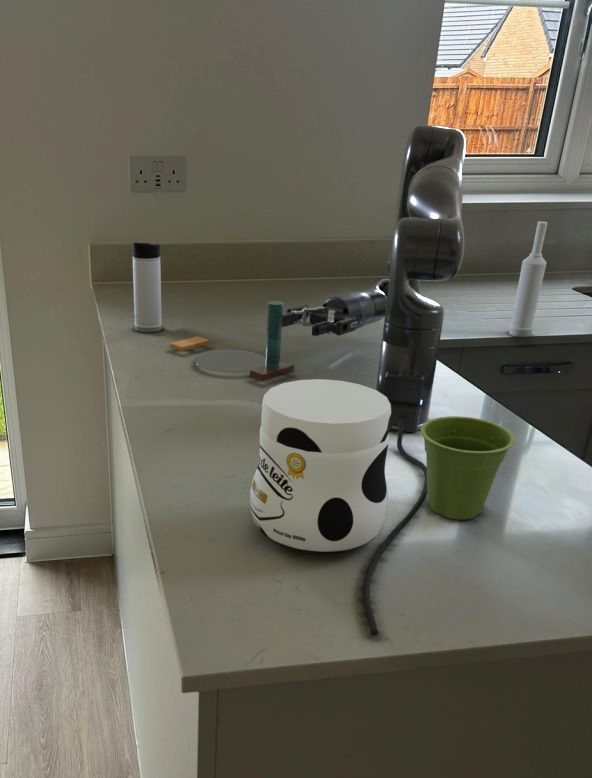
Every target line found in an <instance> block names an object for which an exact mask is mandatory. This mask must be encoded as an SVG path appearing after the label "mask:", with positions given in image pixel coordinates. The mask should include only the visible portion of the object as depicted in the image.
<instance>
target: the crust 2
mask: <svg viewBox="0 0 592 778" xmlns="http://www.w3.org/2000/svg"><path fill="white" fill-rule="evenodd" d="M184 340H186V341H189V342H192V343H195V344H196V348H200V347H203V346H207V345H210V344H211V340H210V339H208V338H204V337H202V336H198V335H197V336H193V337H189V338H186V339H185V338H184Z"/></svg>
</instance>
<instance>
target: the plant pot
mask: <svg viewBox="0 0 592 778" xmlns="http://www.w3.org/2000/svg"><path fill="white" fill-rule="evenodd" d="M420 434H421V435H422V437H423V440H424V441H423V442H424V443H423V444H424V451H425V456H426V458H425V459H426V460H425V461H426V462H425V463H426V467H427V496H426V499H427V500H426V501H427V507H428V509H429V510H430V511H432V512H433V513H434V514H440V515H441V516H443V517H444V518H446V519H450V520H460V521H461V520H463V521H464V520H471V519H474V518H476V517H477V516H478V515H481V513H482V511H483V510H484V506H485V504H486V501H487V499H488V497H489V494H490V492H491V489H492V486H493V483H494V481H495V479H496V476H497V474H498V472H499V469H500V466H501V463H502V462H504V460H505V457H506V455H507V453H508V450H510V449H511V448H512V447H513V446H514V445H515V442H516V437H515V435H514V434H513V433H512V431H510V429H508V428H506V427H504V426H502V425H500V424H498V423H495V422H493V421H489V420H485V419H482V418H478V417H471V416H459V415H458V416H456V415H450V416H439V417H434V418H432V419H428V421H427V422H425V423H424V424H423V425H422V426H421V429H420Z"/></svg>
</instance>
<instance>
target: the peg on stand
mask: <svg viewBox="0 0 592 778" xmlns="http://www.w3.org/2000/svg"><path fill="white" fill-rule="evenodd" d="M283 312H284V303H283V302H282V301H277V300H274V301H273V300H272V301H269V302H267V317H266V318H267V320H266V338H265V339H266V341H265V343H266V344H265V358H266V360H265V366H262V367H259V368H255V369H252V370H250V371H249V378H252V379H255V380H258V381H260V382H265V381H268V380H272V379H274V378H277V377H280V376H284V375H287V374H290V373H294V372H295V364H293V363H290V362H287V361H283V360H281V351H282V350H281V349H282V348H281V346H282V332H283V331H282V329H283V327H282V315H284V314H283Z"/></svg>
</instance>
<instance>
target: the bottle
mask: <svg viewBox="0 0 592 778" xmlns="http://www.w3.org/2000/svg"><path fill="white" fill-rule="evenodd" d="M547 227H548V222H547V221H537V224H536V229H535V236H534V239H533V246H532V250H531V252H530V253H529V256H527V257H526V258H525V259H523V260H522V262H521V269H520V274H519V279H518V285H517V290H516V295H515V302H514V308H513V312H512V313H513V314H512V319H511V324H510V325H509V329H508V334H509V335H510V336H513V337H517V338H529V337H531V335H532V334H533V333H532V332H533V329H534V327H533V323H534V319H535V315H536V310H537V307H538V302H539V298H540V293H541V289H542V286H543V281H544V276H545V271H546V268H547V261H546V260H545V258H544V257H543V254H542V250H543V246H544V240H545V236H546V232H547Z"/></svg>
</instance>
